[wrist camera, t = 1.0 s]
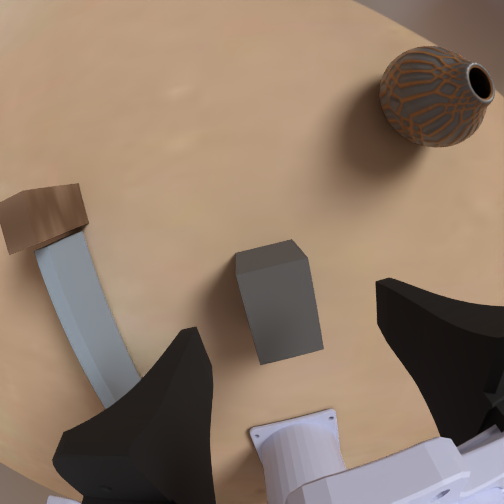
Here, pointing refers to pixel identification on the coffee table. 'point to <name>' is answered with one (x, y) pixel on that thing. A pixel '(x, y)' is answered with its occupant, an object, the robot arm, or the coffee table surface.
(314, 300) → the block
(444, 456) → the robot arm
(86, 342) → the door
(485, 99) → the vase
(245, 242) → the coffee table surface
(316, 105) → the coffee table surface
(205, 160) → the coffee table surface
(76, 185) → the door frame
